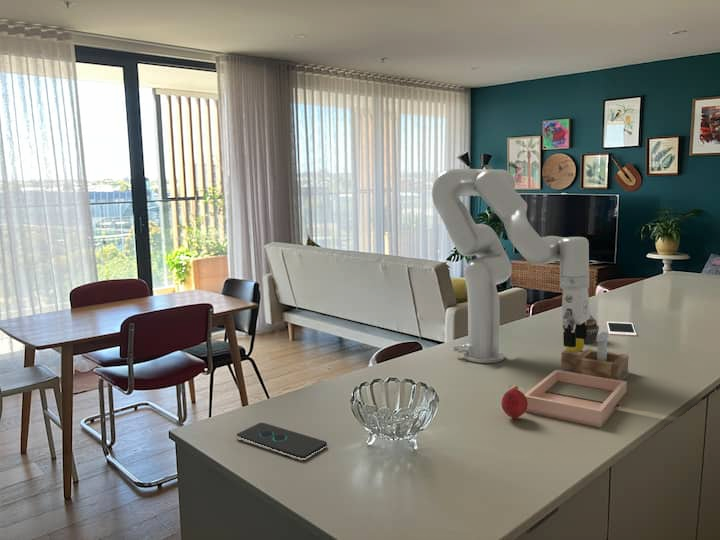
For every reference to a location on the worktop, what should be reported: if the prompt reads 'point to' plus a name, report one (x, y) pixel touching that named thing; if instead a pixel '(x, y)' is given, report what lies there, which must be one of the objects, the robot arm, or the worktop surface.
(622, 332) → the cell phone
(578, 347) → the lemon
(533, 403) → the tray
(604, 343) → the stand
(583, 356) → the wooden bar frame
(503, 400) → the onion
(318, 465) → the worktop surface
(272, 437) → the slab with cyan rings
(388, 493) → the worktop surface
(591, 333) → the cupcake
